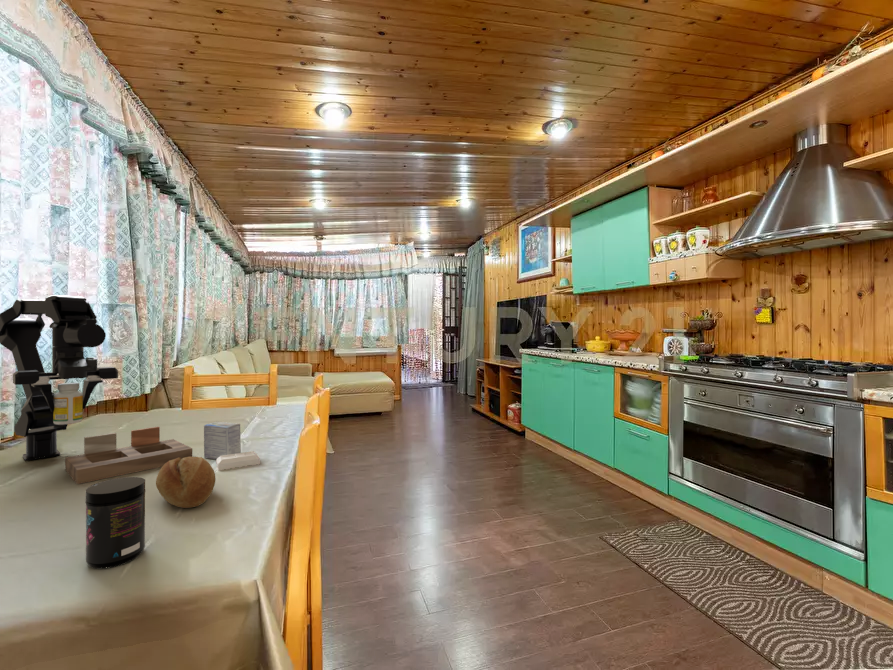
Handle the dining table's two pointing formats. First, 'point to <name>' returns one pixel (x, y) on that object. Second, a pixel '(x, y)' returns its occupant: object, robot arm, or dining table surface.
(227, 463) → the soap bar
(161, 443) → the socket board
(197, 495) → the bread roll
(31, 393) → the robot arm
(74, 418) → the supplement bottle
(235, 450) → the medicine box
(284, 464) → the dining table surface
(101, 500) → the supplement container
